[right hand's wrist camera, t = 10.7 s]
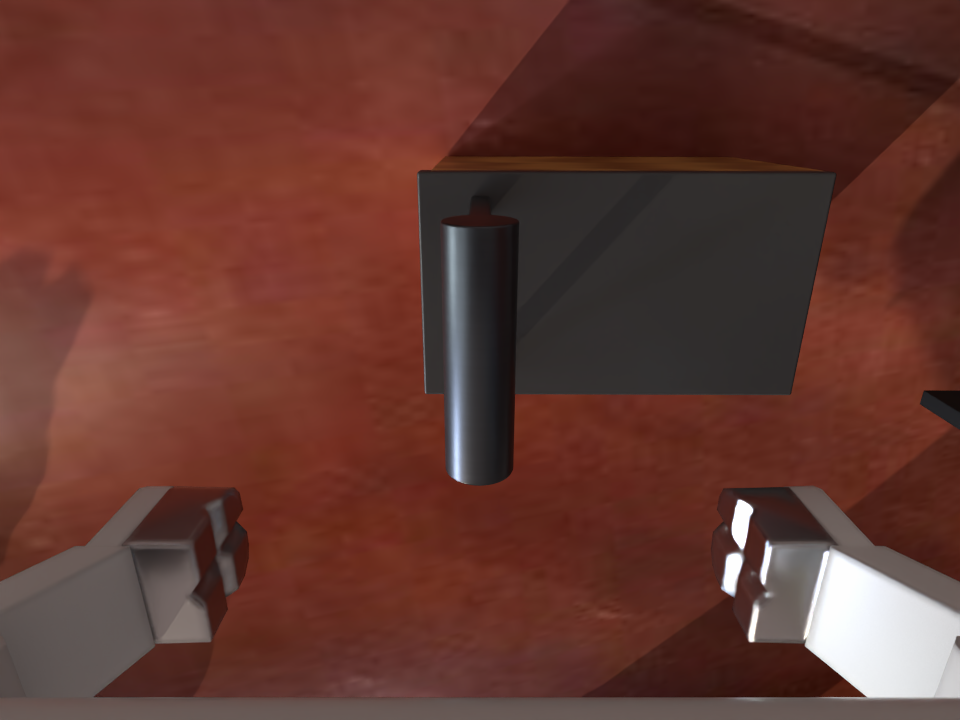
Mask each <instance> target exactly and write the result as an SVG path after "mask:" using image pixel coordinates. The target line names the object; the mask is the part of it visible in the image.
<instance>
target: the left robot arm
mask: <svg viewBox="0 0 960 720" xmlns="http://www.w3.org/2000/svg"><path fill="white" fill-rule="evenodd" d="M920 404H921V405H922V406H924V407H925V408H927V409H928V410H930V411H931V412H933V413H935V414H936V415H938V416H939V417H941V418H942V419H944V420H945V421H947V422H949V423H950V424H952V425H953V426H955V427H956V428H958V429H960V391H924V392H923V396H922V399H921V402H920Z"/></svg>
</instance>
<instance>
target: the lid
mask: <svg viewBox="0 0 960 720" xmlns="http://www.w3.org/2000/svg"><path fill="white" fill-rule="evenodd" d="M835 179H836V173H834V172H828V171H606V170H420V171H419V172H418V173H417V182H418V211H419V240H420V269H421V298H422V327H423V356H424V385H425V393H426V394H444V410H445V456H446V471H447V473H448V474H449V475H450V476H451V477H452V478H453V479H455V480H456V481H459V482H461V483H464V484H469V485H490V484H495V483H498V482H500V481H502V480H504V479H506V478H507V477H508V476H509V475H510V474H511V472H512V470H513V452H514V412H515V394H646V395H790V394H791V391H792V386H793V381H794V377H795V372H796V367H797V362H798V357H799V353H800V348H801V343H802V338H803V333H804V328H805V324H806V319H807V314H808V309H809V304H810V300H811V295H812V290H813V285H814V280H815V275H816V271H817V266H818V261H819V256H820V251H821V247H822V242H823V237H824V232H825V227H826V222H827V218H828V213H829V208H830V203H831V198H832V194H833V189H834V184H835Z"/></svg>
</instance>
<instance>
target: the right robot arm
mask: <svg viewBox="0 0 960 720" xmlns="http://www.w3.org/2000/svg"><path fill="white" fill-rule="evenodd" d="M242 511H243V507H242V502H241V497H240V493H239V492H238V491H237V490H236V489H235V488H233V487H184V486H177V487H173V486H147V487H143V488H139V489H138V490H137V491H136V492H135V494H134V495H133V496H132V497H131V498H130V499H129V500H128V501H127V502H126V503H125V504H124V505H123V506H122V507H121V508H120V510H119V511H118V512H117V513H116V514H115V515H114V516H113V517H112V518H111V519H110V520H109V521H108V522H107V523H106V524H105V526H104V527H103V528H102V529H101V530H100V531H99V532H98V533H97V534H96V535H95V536H94V537H93V538H92V539H91V540H90V542H89V543H88V544H87V545H86V546H74V547H72V548H70V549H68V550H66V551H64V552H62V553H60V554H58V555H56V556H53V557H51V558H49V559H47V560H45V561H43V562H41V563H39V564H37V565H34V566H32V567H30V568H28V569H26V570H24V571H22V572H20V573H18V574H16V575H13V576H11V577H9V578H7V579H5V580H3V581H1V582H0V720H960V582H959V581H957V580H955V579H953V578H951V577H948V576H946V575H944V574H942V573H940V572H938V571H936V570H934V569H932V568H930V567H928V566H925V565H923V564H921V563H919V562H917V561H915V560H913V559H911V558H909V557H907V556H904V555H902V554H900V553H898V552H896V551H894V550H892V549H890V548H888V547H886V546H874V545H873V544H872V543H871V541H870V540H869V539H868V538H867V537H866V536H865V535H864V534H863V533H862V532H861V531H860V530H859V529H858V528H857V527H856V525H855V524H854V523H853V522H852V521H851V520H850V519H849V518H848V517H847V516H846V515H845V514H844V513H843V512H842V511H841V509H840V508H839V507H838V506H837V505H836V504H835V503H834V502H833V501H832V500H831V499H830V498H829V497H828V496H827V495H826V493H825V492H824V491H823V490H822V489H820V488H818V487H815V486H793V487H769V488H723V490H722V492H721V494H720V496H719V501H718V506H717V511H718V512H719V514H720V516H721V517H722V519H723V522H722V523H721V524H720V525H719V526H718V527H717V528H716V529H715V530H714V531H713V537H712V545H711V555H712V566H713V569H714V572H715V576H716V578H717V580H718V582H719V584H720V587H721V589H723V590H724V591H725V592H727V593H728V594H730V595H731V596H733V597H734V603H733V608H732V610H733V612H734V614H735V616H736V617H737V619H738V621H739V623H740V625H741V627H742V629H743V631H744V633H745V635H746V636H747V638H748V640H749V642H768V643H804V644H805V647H807V648H808V649H809V650H810V651H811V652H813V653H814V654H815V655H816V656H818V657H819V658H820V659H821V660H822V661H824V662H825V663H826V664H827V665H829V666H830V667H831V668H832V669H834V670H835V671H836V672H837V673H838V674H840V675H841V676H842V677H843V678H845V679H846V680H847V681H848V682H849V683H851V684H852V685H853V686H854V687H856V688H857V689H858V690H859V691H860V692H862V693H863V694H864V695H865V696H867V697H520V698H459V697H94V696H95V695H96V694H97V693H99V692H100V691H101V690H102V689H103V688H105V687H106V686H107V685H108V684H110V683H111V682H112V681H113V680H114V679H116V678H117V677H118V676H119V675H121V674H122V673H123V672H124V671H126V670H127V669H128V668H129V667H130V666H132V665H133V664H134V663H135V662H137V661H138V660H139V659H140V658H141V657H143V656H144V655H145V654H146V653H148V652H149V651H150V650H151V649H153V648H154V647H155V644H156V643H190V642H211V640H212V639H213V637H214V635H215V633H216V631H217V629H218V627H219V625H220V623H221V621H222V619H223V618H224V616H225V614H226V612H227V610H228V608H227V603H226V597H227V596H229V595H230V594H232V593H233V592H235V591H236V590H237V589H239V587H240V584H241V582H242V580H243V578H244V576H245V572H246V568H247V563H248V559H249V543H248V536H247V531H246V530H245V529H244V528H243V527H242V526H241V525H240V524H239V523H238V522H237V519H238V517H239V516H240V514H241V512H242Z"/></svg>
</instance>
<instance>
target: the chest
mask: <svg viewBox="0 0 960 720" xmlns="http://www.w3.org/2000/svg"><path fill="white" fill-rule="evenodd" d="M432 170H606V171H823V170H816V169H809V168H802V167H795V166H789V165H782V164H775V163H768V162H761V161H755V160H748V159H741V158H734V157H470V156H446V157H444V158H443V159H442V160H441V161H440V162H439V163H438V164H437V165H436V166H435V167H434V168H433V169H432Z"/></svg>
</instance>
